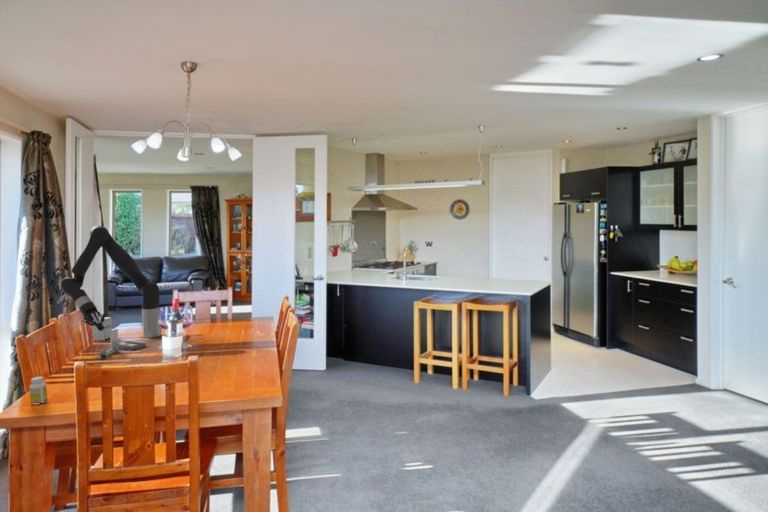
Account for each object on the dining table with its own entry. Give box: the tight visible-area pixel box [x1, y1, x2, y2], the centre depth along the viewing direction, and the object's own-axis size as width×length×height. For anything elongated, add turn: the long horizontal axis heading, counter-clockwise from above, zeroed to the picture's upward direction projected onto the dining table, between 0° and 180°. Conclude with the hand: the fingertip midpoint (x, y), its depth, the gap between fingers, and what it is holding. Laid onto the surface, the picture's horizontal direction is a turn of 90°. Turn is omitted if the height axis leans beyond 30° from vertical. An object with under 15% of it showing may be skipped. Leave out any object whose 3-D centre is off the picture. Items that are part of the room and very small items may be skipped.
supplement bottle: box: [29, 376, 48, 404], centre depth 195 cm, size 5×5×10 cm
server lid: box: [118, 340, 147, 351], centre depth 281 cm, size 9×14×2 cm, turn 65°
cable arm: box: [99, 328, 120, 357], centre depth 266 cm, size 14×4×11 cm, turn 0°
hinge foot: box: [96, 355, 113, 361], centre depth 260 cm, size 6×6×1 cm
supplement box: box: [92, 316, 113, 342], centre depth 303 cm, size 7×7×13 cm
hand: (102, 329), depth 276 cm, fingers closed
